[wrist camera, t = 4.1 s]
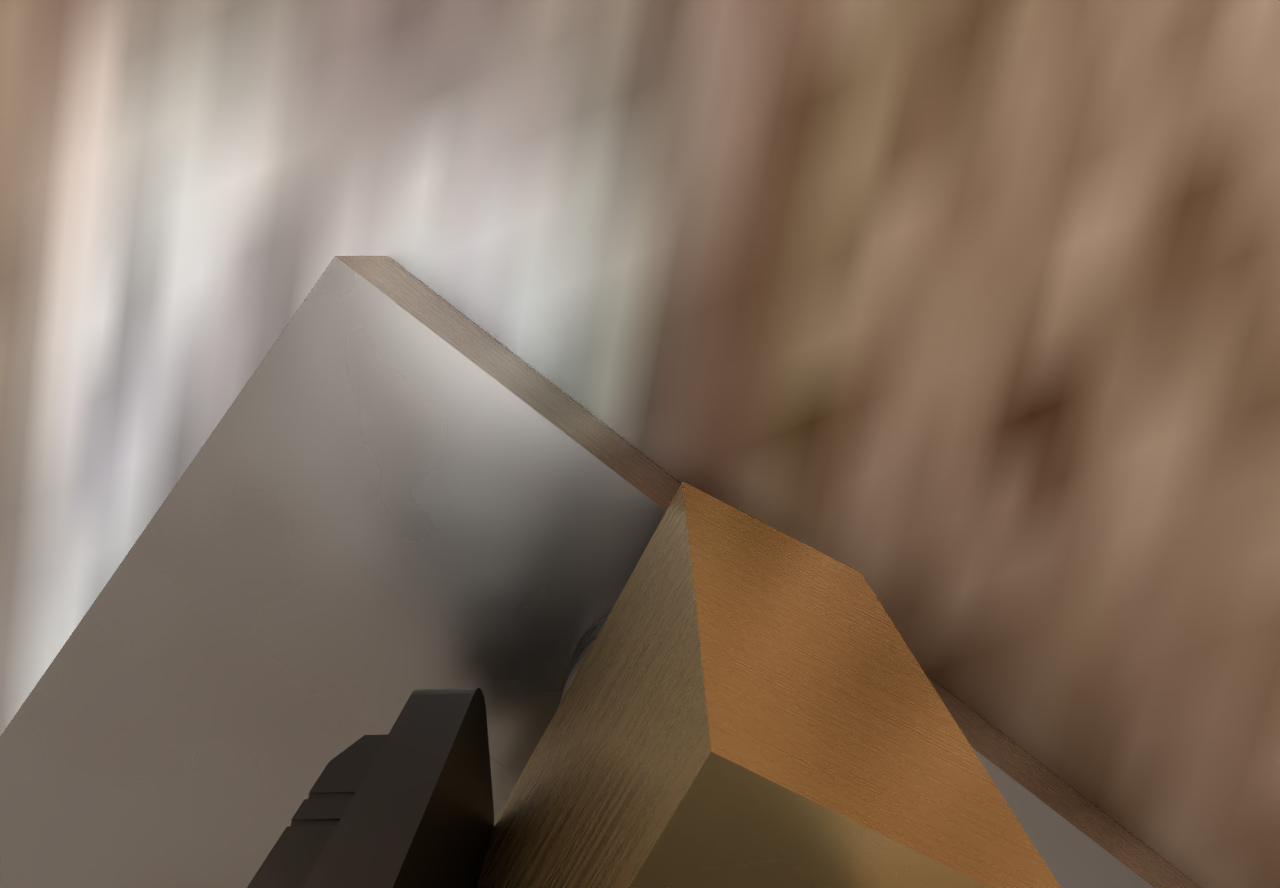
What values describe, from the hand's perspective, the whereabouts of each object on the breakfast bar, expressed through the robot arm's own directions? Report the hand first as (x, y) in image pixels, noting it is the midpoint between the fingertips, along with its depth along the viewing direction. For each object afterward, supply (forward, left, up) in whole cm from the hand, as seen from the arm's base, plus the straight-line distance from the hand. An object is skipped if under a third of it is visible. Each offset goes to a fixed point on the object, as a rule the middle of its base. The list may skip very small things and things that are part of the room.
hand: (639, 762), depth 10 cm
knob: (0, 0, -1) cm, 1 cm away
